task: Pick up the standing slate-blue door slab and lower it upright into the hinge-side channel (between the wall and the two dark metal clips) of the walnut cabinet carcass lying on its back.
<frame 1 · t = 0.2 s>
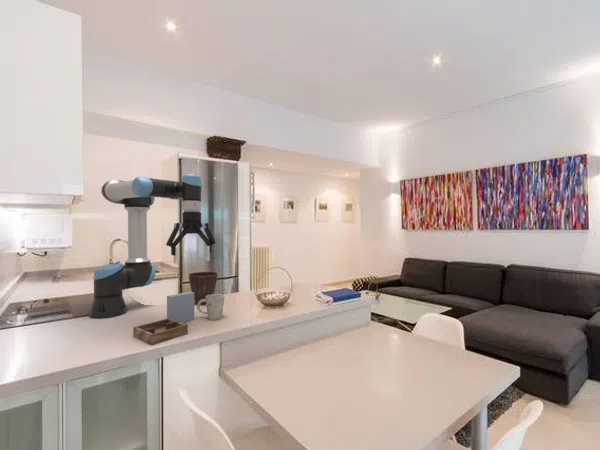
hand: (192, 262, 126), 27 cm above the table, fingers open, 13 cm apart
mug: (210, 318, 137), on the table
plant pot: (203, 303, 163), on the table
carcass: (160, 335, 115), on the table
door: (181, 321, 132), on the table
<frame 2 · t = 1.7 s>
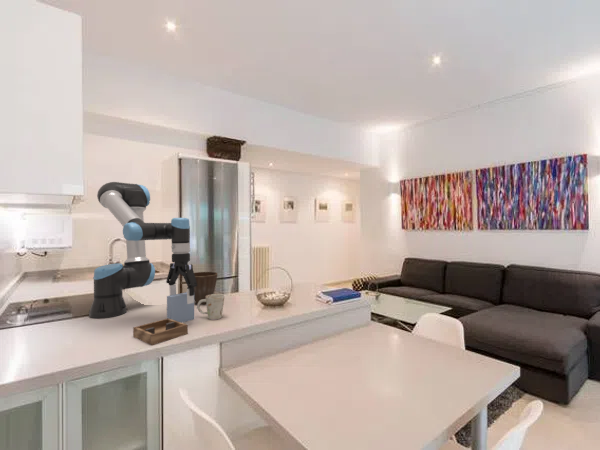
hand: (181, 301, 131), 9 cm above the table, fingers open, 13 cm apart
nothing on the table moved.
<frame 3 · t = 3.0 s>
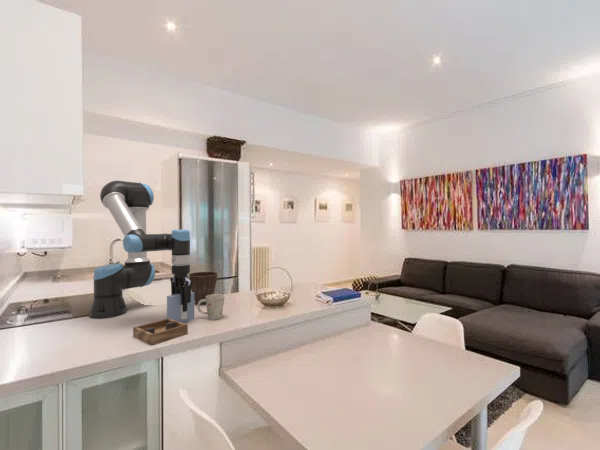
hand: (180, 317, 132), 2 cm above the table, fingers closed on door, 3 cm apart
door: (181, 321, 132), on the table, touching gripper
everything else where it was.
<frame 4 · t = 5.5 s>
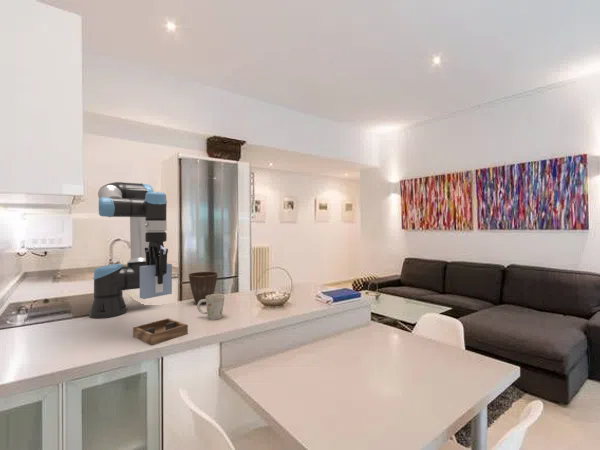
hand: (156, 291, 117), 16 cm above the table, fingers closed on door, 3 cm apart
door: (156, 295, 117), point 15 cm above the table, touching gripper
everything else where it was.
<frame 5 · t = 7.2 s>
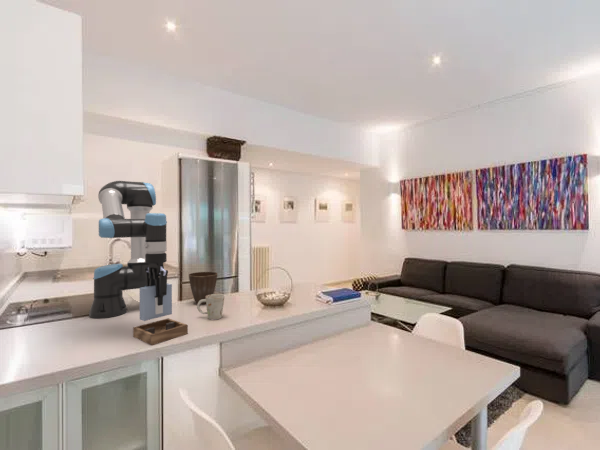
hand: (156, 312, 117), 8 cm above the table, fingers closed on door, 3 cm apart
door: (156, 316, 117), point 6 cm above the table, touching gripper
everything else where it was.
when the fingers open (5 cm above the table, at t = 8.3 s): door drops 2 cm, resting on carcass.
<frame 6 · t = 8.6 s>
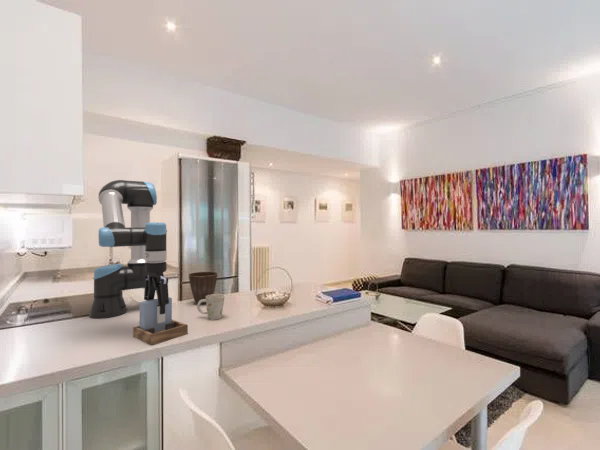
hand: (156, 320, 117), 5 cm above the table, fingers open, 7 cm apart
door: (156, 330, 117), point 1 cm above the table, touching carcass
everything else where it was.
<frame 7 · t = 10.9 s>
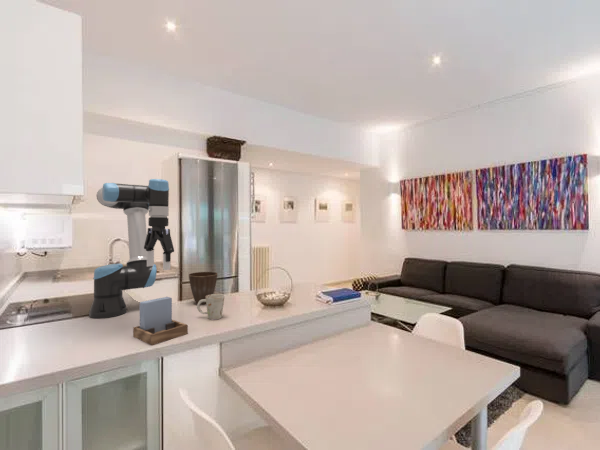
hand: (158, 267, 125), 25 cm above the table, fingers open, 13 cm apart
nothing on the table moved.
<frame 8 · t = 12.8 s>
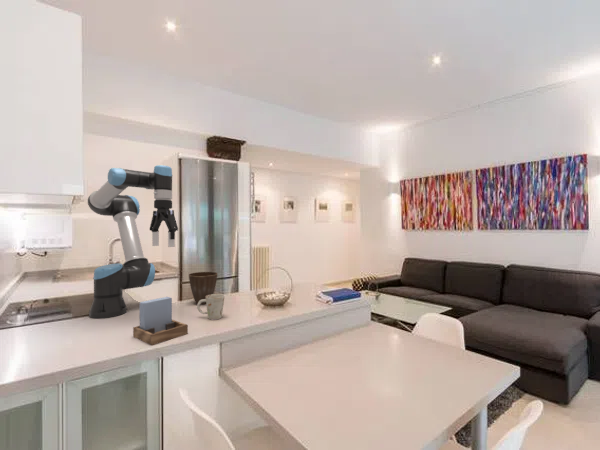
hand: (163, 246, 137), 33 cm above the table, fingers open, 13 cm apart
nothing on the table moved.
at the end: door inside the target area on the carcass (0.1 cm from its centre), point 1.0 cm above the carcass's base; door tilted 0°; the gripper is holding nothing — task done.
